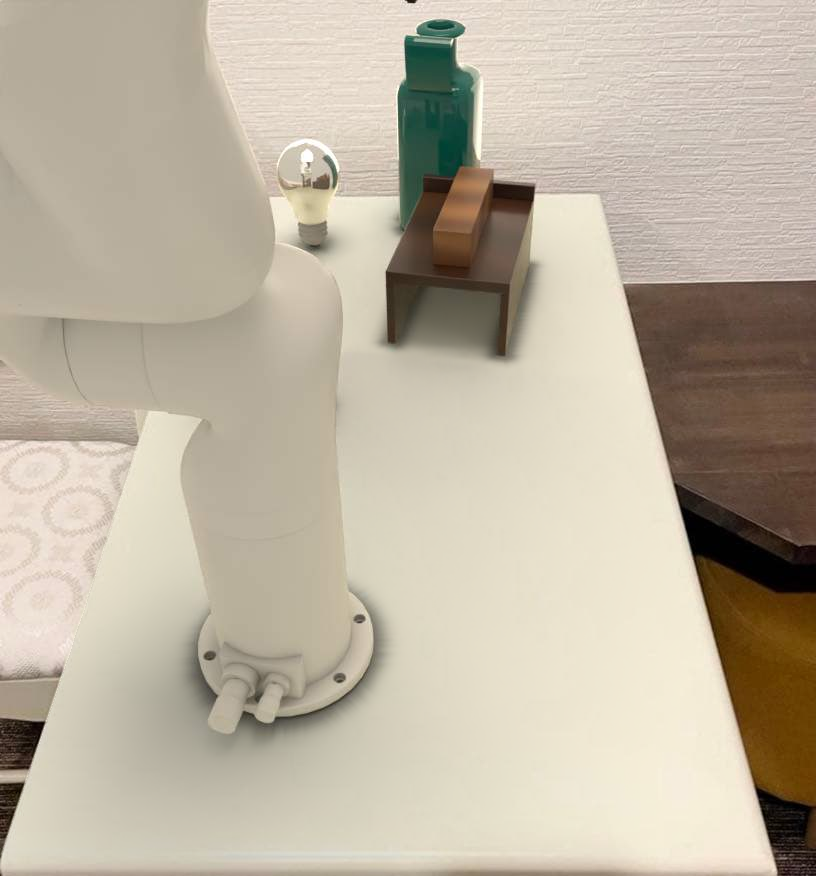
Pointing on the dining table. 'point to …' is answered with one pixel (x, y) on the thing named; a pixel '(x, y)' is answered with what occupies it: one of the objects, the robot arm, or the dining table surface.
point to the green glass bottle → (436, 110)
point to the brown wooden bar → (463, 217)
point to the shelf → (493, 263)
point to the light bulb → (309, 186)
